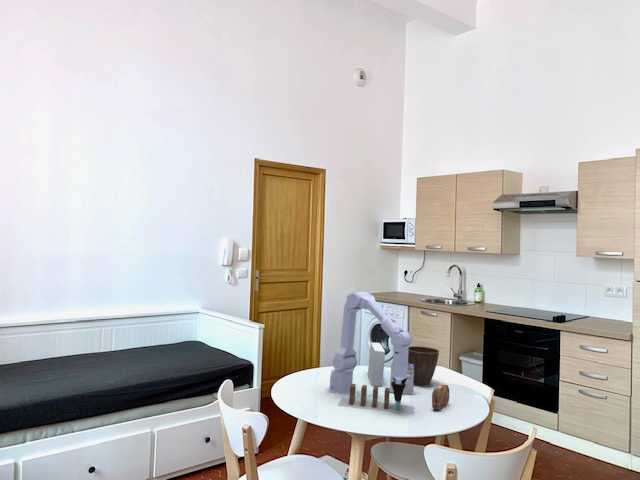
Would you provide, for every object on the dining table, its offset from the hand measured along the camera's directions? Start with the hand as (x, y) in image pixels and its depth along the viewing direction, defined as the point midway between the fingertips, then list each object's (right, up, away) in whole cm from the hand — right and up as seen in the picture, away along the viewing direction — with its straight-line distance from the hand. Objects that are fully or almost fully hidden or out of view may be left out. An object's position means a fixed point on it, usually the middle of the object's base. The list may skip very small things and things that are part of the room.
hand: (398, 398), depth 190 cm
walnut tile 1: (-18, -3, +4) cm, 18 cm away
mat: (-9, -4, +2) cm, 10 cm away
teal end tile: (0, -4, 0) cm, 4 cm away
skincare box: (-4, -5, +41) cm, 41 cm away
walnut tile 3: (-9, -4, +2) cm, 10 cm away
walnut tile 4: (-5, -4, +1) cm, 6 cm away
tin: (+17, -6, +5) cm, 19 cm away
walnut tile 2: (-13, -3, +3) cm, 14 cm away
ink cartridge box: (+5, -5, +23) cm, 24 cm away
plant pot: (+17, -6, +38) cm, 42 cm away
